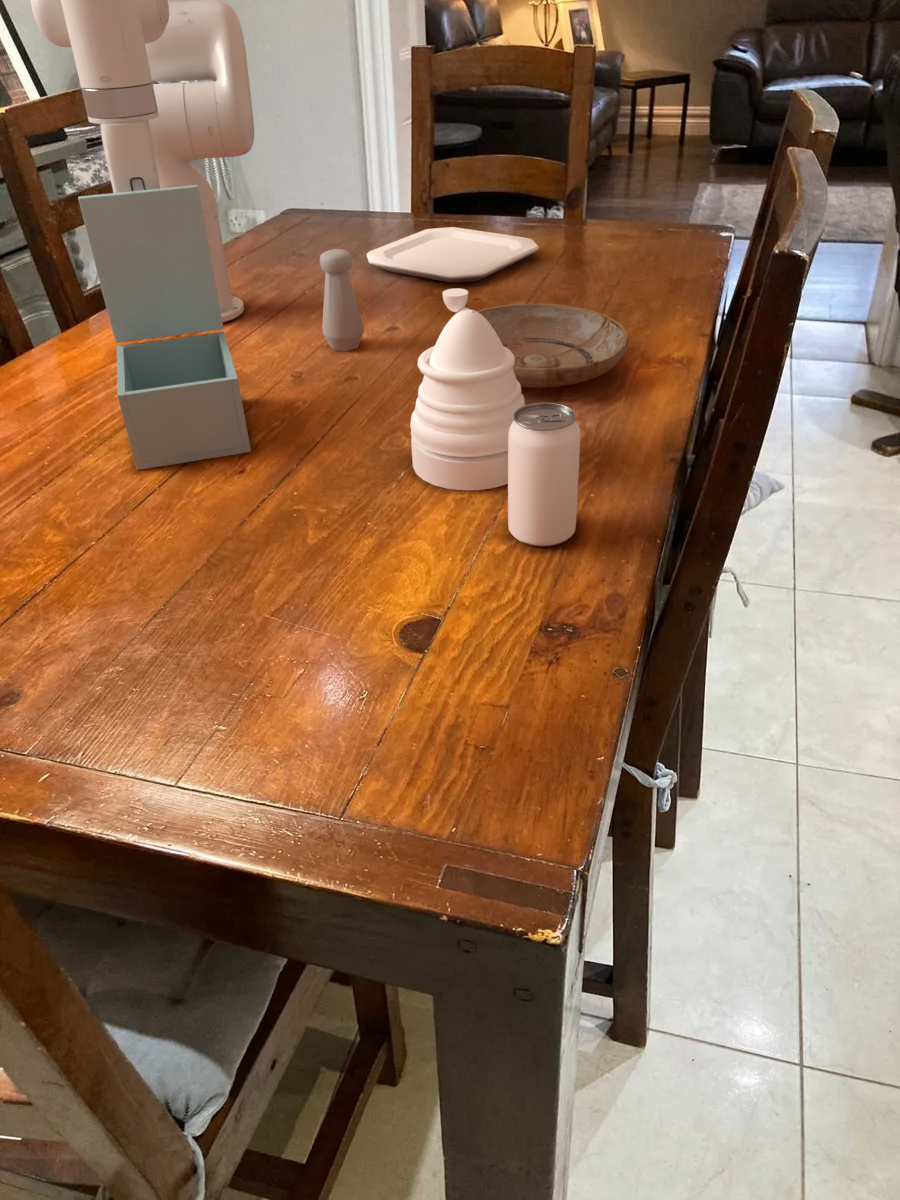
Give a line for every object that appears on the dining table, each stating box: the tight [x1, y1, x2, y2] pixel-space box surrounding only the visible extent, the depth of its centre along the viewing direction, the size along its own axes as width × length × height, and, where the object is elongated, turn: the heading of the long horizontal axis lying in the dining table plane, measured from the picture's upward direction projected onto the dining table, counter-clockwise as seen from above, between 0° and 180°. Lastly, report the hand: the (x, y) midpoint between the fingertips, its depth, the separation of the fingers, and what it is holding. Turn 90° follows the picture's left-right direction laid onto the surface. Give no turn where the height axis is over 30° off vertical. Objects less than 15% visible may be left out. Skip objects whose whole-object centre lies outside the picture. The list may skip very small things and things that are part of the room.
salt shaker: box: [319, 248, 365, 352], centre depth 128 cm, size 6×6×13 cm
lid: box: [77, 185, 224, 344], centre depth 106 cm, size 16×13×1 cm
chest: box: [116, 331, 252, 471], centre depth 108 cm, size 16×13×9 cm
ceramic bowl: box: [475, 303, 629, 389], centre depth 121 cm, size 23×24×5 cm
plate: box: [366, 226, 540, 284], centre depth 163 cm, size 25×25×2 cm
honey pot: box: [409, 288, 526, 491], centre depth 97 cm, size 13×13×18 cm
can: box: [507, 402, 581, 548], centre depth 86 cm, size 6×6×12 cm
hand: (157, 274), depth 113 cm, fingers closed
